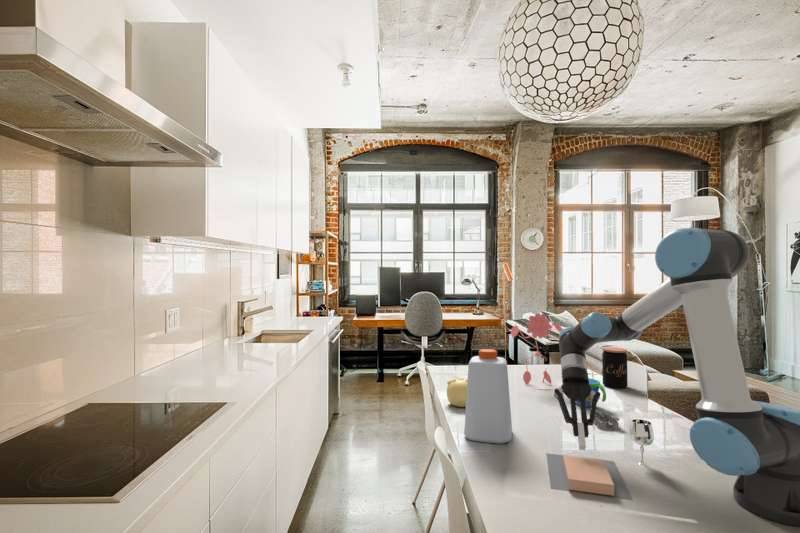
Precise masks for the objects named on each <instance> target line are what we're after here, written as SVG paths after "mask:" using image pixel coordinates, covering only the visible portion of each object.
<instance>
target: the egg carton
mask: <svg viewBox="0 0 800 533" xmlns="http://www.w3.org/2000/svg"><path fill="white" fill-rule="evenodd" d="M590 412H591V409H589V413H590ZM607 420H608V421H607ZM619 421H620V418H619V417H618V416H616V417H615V416H614V415H612V414H611V415H610V413H609V412H606V413H605V412H604V411H600V410H599V411H597V410H596V412H595V418H594V423H593V425H597V428H598V429H602V430H607V429H611V430H613V429H616V430H617V428H618V429H619V426H620V425H619ZM606 428H607V429H606Z"/></svg>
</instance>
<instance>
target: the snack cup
mask: <svg viewBox="0 0 800 533" xmlns="http://www.w3.org/2000/svg"><path fill="white" fill-rule="evenodd" d="M588 379H589V385H590V387H591V388H592V390H593V391H594V392H599V389H600V391H601V392H602V400H601V401H602V402H603V403H604V402H606V400H607V392H606V389H605V386H604V385H602V384H601V381H599V380H597V379H595V378H590V377H588ZM592 400H593V399H592V398H591V394H590V395H589V396H588V397H587V399H586V400H585V405H586V409H587V408H588V409H589V408H590V409H591V405H592ZM576 406H579V407H580V404H579V401H576Z"/></svg>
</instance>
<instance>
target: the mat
mask: <svg viewBox="0 0 800 533" xmlns="http://www.w3.org/2000/svg"><path fill="white" fill-rule="evenodd" d="M545 455H546V460H547V461H546V462H547V468H548V470H547V471H548V478H549V483H550V489H552V490H559V491H565V492H566V491H567V492H572V493H573V492H574V493H579V494H580V493H581V494H586V495H593V496H601V497H609V498H616V499H623V500H631V501H634V499H633V496H632V495H631V492H630V491H629V488H628V487H627V485H626V482H625V481H624V478H623V477H622V474H621V472H620V470H619V468H618V466H617V464H616V462H615V461H614V460H606V459H602V460H603V461H604V463H605V465H606V468H607V470H608V472H609V474H610V477H611V479H612V481H613V484H614V496H613V495H606V494H598V493H591V492H584V491H577V490H569V489H568V485H567V480H566V475H565V471H564V466H563V455H564V454H556V453H555V454H554V453H548V452H547V453H546V454H545Z"/></svg>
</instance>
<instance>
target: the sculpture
mask: <svg viewBox="0 0 800 533" xmlns="http://www.w3.org/2000/svg"><path fill="white" fill-rule="evenodd" d="M467 381H468V379H465V378H463V377H458V378H455V379H451V380H448V381H446V383H447V387H446V397H447V401H448V402H449V404H450V405H452V406H454V407H459V408H464V407H465V408H466V397H467Z"/></svg>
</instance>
